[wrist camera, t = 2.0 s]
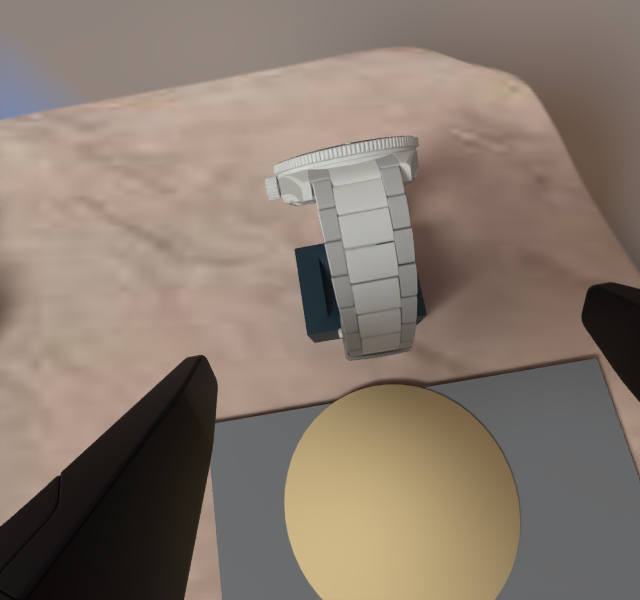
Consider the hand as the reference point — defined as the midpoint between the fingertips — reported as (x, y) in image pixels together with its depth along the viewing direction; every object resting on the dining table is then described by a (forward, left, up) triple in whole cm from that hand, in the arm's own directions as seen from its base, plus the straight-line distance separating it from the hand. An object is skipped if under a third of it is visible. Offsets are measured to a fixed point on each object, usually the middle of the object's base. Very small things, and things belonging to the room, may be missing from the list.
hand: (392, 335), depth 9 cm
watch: (+4, 0, -11) cm, 12 cm away
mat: (-7, -1, -11) cm, 13 cm away
